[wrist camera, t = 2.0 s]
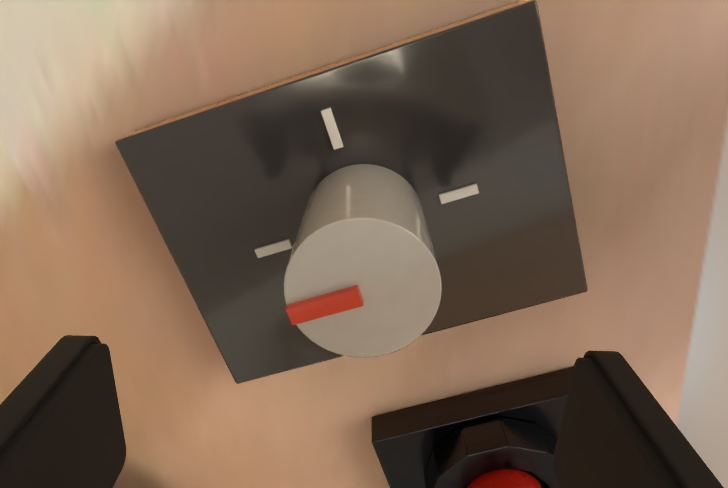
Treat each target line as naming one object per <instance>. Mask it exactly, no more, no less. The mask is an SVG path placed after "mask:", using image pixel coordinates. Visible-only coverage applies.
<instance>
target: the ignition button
mask: <svg viewBox="0 0 728 488" xmlns="http://www.w3.org/2000/svg"><path fill="white" fill-rule="evenodd" d="M466 488H542V487H541V485H540V483H539V482H538V481H537V480H536V479H535V478H534V477H533V476H531V475H530V474H528V473H526V472H524V471H521V470H517V469H510V468H504V469H500V470H495V471H491V472H486V473H483V474H481V475H479V476H478V477H476V478H475V479H474V480H472V481H471V482H470V483H469V484H468V486H467V487H466Z"/></svg>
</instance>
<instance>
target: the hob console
mask: <svg viewBox="0 0 728 488" xmlns="http://www.w3.org/2000/svg"><path fill="white" fill-rule="evenodd" d="M115 144H116V146H117V148H118V150H119V152H120V154H121V156H122V158H123V160H124V162H125V164H126V166H127V168H128V170H129V171H130V173H131V175H132V177H133V179H134V181H135V183H136V185H137V187H138V189H139V191H140V193H141V195H142V197H143V199H144V201H145V203H146V205H147V207H148V209H149V211H150V213H151V215H152V217H153V219H154V221H155V223H156V225H157V227H158V229H159V231H160V233H161V235H162V237H163V239H164V241H165V243H166V245H167V247H168V249H169V251H170V253H171V255H172V257H173V259H174V261H175V263H176V265H177V267H178V269H179V271H180V273H181V275H182V277H183V279H184V281H185V283H186V285H187V287H188V289H189V291H190V293H191V295H192V297H193V299H194V301H195V303H196V305H197V307H198V309H199V311H200V313H201V315H202V317H203V319H204V320H205V322H206V324H207V326H208V328H209V330H210V332H211V334H212V336H213V338H214V340H215V342H216V344H217V346H218V348H219V350H220V352H221V354H222V356H223V358H224V360H225V362H226V364H227V366H228V368H229V370H230V372H231V374H232V376H233V378H234V380H235V382H236V383H237V384H239V383H242V382H246V381H250V380H254V379H258V378H261V377H265V376H269V375H273V374H277V373H280V372H284V371H288V370H292V369H296V368H299V367H303V366H307V365H311V364H314V363H318V362H322V361H326V360H330V359H333V358H337V357H341V356H344V355H340V354H337V353H334V352H331V351H328V350H326V349H324V348H322V347H320V346H319V345H317V344H316V343H314V342H313V341H311V340H310V339H309V338H308V337H307V336H306V335H304V333H303V332H302V331H301V330H300V329H299V328H298V327H297V325H292V324H291V321H290V319H289V317H288V314H287V312H286V306H287V305H286V302H285V297H284V277H285V272H286V269H287V265H288V262H289V259H290V256H291V252H292V249H293V246H294V243H295V240H296V237H297V234H298V231H299V227H300V224H301V221H302V218H303V215H304V212H305V209H306V205H307V202H308V200H309V198H310V195H311V194H312V192H313V190H314V189H315V187H316V186H317V185H318V184H319V183H320V182H321V181H322V180H323V179H324V178H325V177H326V176H328V175H329V174H331V173H332V172H334V171H336V170H338V169H341V168H343V167H346V166H350V165H356V164H372V165H378V166H382V167H385V168H387V169H390V170H392V171H394V172H396V173H397V174H399V175H400V176H402V177H403V178H404V179H405V180H406V181H407V182H408V183H409V184H410V185H411V186H412V187H413V189H414V190H415V192H416V194H417V195H418V197H419V200H420V202H421V205H422V209H423V212H424V216H425V220H426V223H427V227H428V231H429V234H430V238H431V242H432V245H433V249H434V253H435V256H436V260H437V263H438V267H439V271H440V276H441V283H442V292H441V300H440V304H439V307H438V310H437V313H436V315H435V317H434V319H433V320H432V322H431V324H430V325H429V326H428V328H427V329H426V330H425V331H424V332H423V333H422V334H421V335H424V334H428V333H432V332H436V331H440V330H443V329H447V328H451V327H455V326H458V325H462V324H466V323H470V322H474V321H477V320H481V319H485V318H489V317H493V316H496V315H500V314H504V313H508V312H512V311H515V310H519V309H523V308H527V307H530V306H534V305H538V304H542V303H546V302H549V301H553V300H557V299H561V298H565V297H568V296H572V295H576V294H580V293H584V292H587V283H586V278H585V272H584V266H583V261H582V255H581V249H580V244H579V238H578V232H577V227H576V221H575V215H574V210H573V204H572V198H571V193H570V187H569V181H568V176H567V170H566V164H565V159H564V153H563V147H562V142H561V136H560V130H559V125H558V119H557V113H556V108H555V102H554V96H553V91H552V85H551V79H550V74H549V68H548V62H547V57H546V51H545V45H544V40H543V34H542V28H541V23H540V17H539V11H538V6H537V2H536V0H527V1H518V2H515V3H512V4H509V5H506V6H503V7H500V8H497V9H494V10H491V11H488V12H485V13H482V14H479V15H476V16H473V17H470V18H467V19H464V20H461V21H458V22H455V23H452V24H449V25H446V26H443V27H440V28H437V29H434V30H431V31H428V32H426V33H423V34H420V35H417V36H414V37H411V38H408V39H405V40H402V41H399V42H396V43H393V44H390V45H387V46H384V47H381V48H378V49H375V50H372V51H369V52H366V53H363V54H360V55H357V56H354V57H351V58H348V59H345V60H342V61H339V62H336V63H333V64H331V65H328V66H325V67H322V68H319V69H316V70H313V71H310V72H307V73H304V74H301V75H298V76H295V77H292V78H289V79H286V80H283V81H280V82H277V83H274V84H271V85H268V86H265V87H262V88H259V89H256V90H253V91H250V92H247V93H244V94H241V95H238V96H236V97H233V98H230V99H227V100H224V101H221V102H218V103H215V104H212V105H209V106H206V107H203V108H200V109H197V110H194V111H191V112H188V113H185V114H182V115H179V116H176V117H173V118H170V119H167V120H164V121H161V122H158V123H155V124H152V125H149V126H146V127H144V128H141V129H138V130H135V131H133V132H131V133H130V134H128V135H126V136H124V137H122V138H120V139H118V140H116V141H115ZM421 335H420V336H421Z"/></svg>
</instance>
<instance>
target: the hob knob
mask: <svg viewBox="0 0 728 488" xmlns="http://www.w3.org/2000/svg"><path fill="white" fill-rule="evenodd" d="M441 292H442V283H441V276H440V271H439V267H438V263H437V260H436V256H435V253H434V249H433V245H432V242H431V238H430V234H429V231H428V227H427V223H426V220H425V216H424V212H423V209H422V205H421V202H420V200H419V197H418V195H417V194H416V192H415V190H414V189H413V187H412V186H411V185H410V184H409V183H408V182H407V181H406V180H405V179H404V178H403V177H402V176H400V175H399V174H397V173H396V172H394V171H392V170H390V169H387V168H385V167H382V166H378V165H372V164H356V165H350V166H346V167H343V168H341V169H338V170H336V171H334V172H332V173H331V174H329V175H328V176H326V177H325V178H324V179H323V180H322V181H321V182H320V183H319V184H318V185H317V186H316V187H315V189H314V190H313V192H312V194H311V195H310V198H309V200H308V202H307V205H306V209H305V212H304V215H303V218H302V221H301V224H300V227H299V231H298V234H297V237H296V240H295V243H294V246H293V249H292V252H291V256H290V259H289V262H288V265H287V269H286V272H285V277H284V297H285V302H286V305H287V306H286V312H287V314H288V317H289V319H290V321H291V324H292V325H297V327H298V328H299V329H300V330H301V331H302V332H303V333H304V335H306V336H307V337H308V338H309V339H310V340H311V341H313V342H314V343H316V344H317V345H319V346H320V347H322V348H324V349H326V350H328V351H331V352H334V353H337V354H340V355H344V356H350V357H363V358H367V357H377V356H382V355H386V354H389V353H392V352H395V351H397V350H400V349H402V348H404V347H405V346H407V345H409V344H410V343H412V342H413V341H414V340H416V339H417V338H418V337H419V336H420V335H421V334H422V333H423V332H424V331H425V330H426V329H427V328H428V326H429V325H430V324H431V322H432V320H433V319H434V317H435V315H436V313H437V310H438V307H439V304H440V300H441Z"/></svg>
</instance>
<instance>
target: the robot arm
mask: <svg viewBox="0 0 728 488" xmlns="http://www.w3.org/2000/svg"><path fill="white" fill-rule="evenodd" d="M125 458H126V444H125V439H124V433H123V427H122V421H121V415H120V409H119V404H118V398H117V392H116V386H115V380H114V374H113V368H112V363H111V357H110V351H109V347H108V346H107V345H106V344H101V342H100V340H99V339H98V337H96V336H72V335H67V336H64V337H62V338H61V339H60V340H59V341H58V342H57V343H56V345H55V346H54V347H53V348H52V349H51V350H50V351H49V352H48V353H47V354H46V355H45V357H44V358H43V359H42V360H41V361H40V362H39V363H38V364H37V365H36V366H35V367H34V369H33V370H32V371H31V372H30V373H29V374H28V375H27V376H26V377H25V378H24V379H23V381H22V382H21V383H20V384H19V385H18V386H17V387H16V388H15V389H14V390H13V391H12V393H11V394H10V395H9V396H8V397H7V398H6V399H5V400H4V401H3V402H2V403H1V405H0V488H113V486H114V484H115V482H116V480H117V478H118V476H119V474H120V472H121V470H122V468H123V466H124V463H125ZM553 473H554V477H555V480H556V482H557V485H558V487H559V488H723V486H722V485H721V484H720V482H719V481H718V480H717V479H716V477H715V476H714V475H713V473H712V472H711V471H710V470H709V468H708V467H707V466H706V464H705V463H704V462H703V460H702V459H701V458H700V456H699V455H698V454H697V453H696V451H695V450H694V449H693V447H692V446H691V445H690V443H689V442H688V441H687V440H686V438H685V437H684V436H683V434H682V433H681V432H680V430H679V429H678V428H677V426H676V425H675V424H674V423H673V421H672V420H671V419H670V417H669V416H668V415H667V413H666V412H665V411H664V410H663V408H662V407H661V406H660V404H659V403H658V402H657V400H656V399H655V398H654V397H653V395H652V394H651V393H650V391H649V390H648V389H647V387H646V386H645V385H644V384H643V382H642V381H641V380H640V378H639V377H638V376H637V374H636V373H635V372H634V371H633V369H632V368H631V367H630V365H629V364H628V363H627V361H626V360H625V359H624V357H623V356H622V355H621V354H620V353H619V352H615V351H588V352H586V354H585V355H584V358H578V359H577V360H576V362H575V365H574V370H573V374H572V378H571V383H570V387H569V391H568V395H567V400H566V404H565V408H564V413H563V417H562V421H561V426H560V430H559V434H558V439H557V443H556V447H555V452H554V456H553Z"/></svg>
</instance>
